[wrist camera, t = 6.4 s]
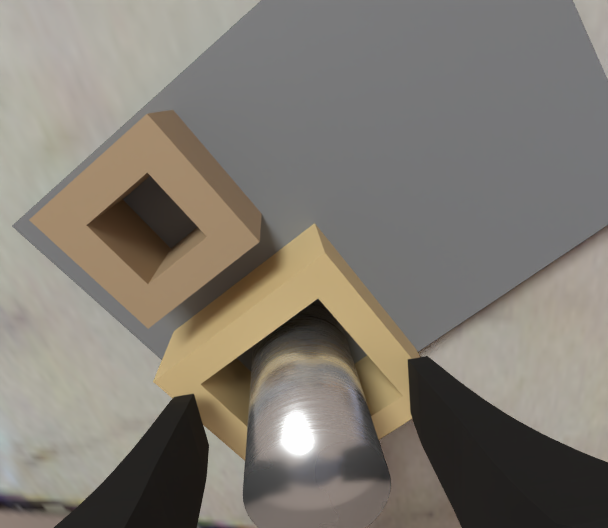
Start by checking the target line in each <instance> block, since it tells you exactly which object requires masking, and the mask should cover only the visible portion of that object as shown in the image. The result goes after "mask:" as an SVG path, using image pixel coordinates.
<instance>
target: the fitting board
mask: <svg viewBox="0 0 608 528" xmlns="http://www.w3.org/2000/svg"><path fill="white" fill-rule="evenodd" d="M607 225H608V80H607V77H606V75H605V73H604V71H603V68H602V66H601V64H600V61H599V59H598V57H597V55H596V52H595V50H594V48H593V45H592V43H591V41H590V39H589V36H588V34H587V32H586V30H585V27H584V25H583V23H582V20H581V18H580V16H579V14H578V11H577V9H576V7H575V5H574V2H573V0H261V1H260V2H259V3H258V4H257V5H256V6H255V7H253V8H252V9H251V10H250V11H249V12H248V13H247V14H246V15H245V16H243V17H242V18H241V19H240V20H239V21H238V22H237V23H236V24H235V25H234V26H232V27H231V28H230V29H229V30H228V31H227V32H226V33H225V34H224V35H222V36H221V37H220V38H219V39H218V40H217V41H216V42H215V43H214V44H213V45H211V46H210V47H209V48H208V49H207V50H206V51H205V52H204V53H203V54H201V55H200V56H199V57H198V58H197V59H196V60H195V61H194V62H193V63H192V64H190V65H189V66H188V67H187V68H186V69H185V70H184V71H183V72H182V73H180V74H179V75H178V76H177V77H176V78H175V79H174V80H173V81H172V82H171V83H169V84H168V85H167V86H166V87H165V88H164V89H163V90H162V91H161V92H159V93H158V94H157V95H156V96H155V97H154V98H153V99H152V100H151V101H150V102H148V103H147V104H146V105H145V106H144V107H143V108H142V109H141V110H140V111H138V112H137V113H136V114H135V115H134V116H133V117H132V118H131V119H130V120H129V121H127V122H126V123H125V124H124V125H123V126H122V127H121V128H120V129H119V130H117V131H116V132H115V133H114V134H113V135H112V136H111V137H110V138H109V139H108V140H106V141H105V142H104V143H103V144H102V145H101V146H100V147H99V148H98V149H96V150H95V151H94V152H93V153H92V154H91V155H90V156H89V157H88V158H87V159H85V160H84V161H83V162H82V163H81V164H80V165H79V166H78V167H77V168H75V169H74V170H73V171H72V172H71V173H70V174H69V175H68V176H67V177H66V178H64V179H63V180H62V181H61V182H60V183H59V184H58V185H57V186H56V187H54V188H53V189H52V190H51V191H50V192H49V193H48V194H47V195H46V196H45V197H43V198H42V199H41V200H40V201H39V202H38V203H37V204H36V205H35V206H33V207H32V208H31V209H30V210H29V211H28V212H27V213H26V214H25V215H24V216H22V217H21V218H20V219H19V220H18V221H17V222H16V223H15V224H14V225H12V227H13V228H15V229H16V230H17V231H18V232H19V233H20V234H21V235H22V236H24V237H25V238H26V239H27V240H28V241H29V242H30V243H31V244H32V245H34V246H35V247H36V248H37V249H38V250H39V251H40V252H41V253H43V254H44V255H45V256H46V257H47V258H48V259H49V260H50V261H52V262H53V263H54V264H55V265H56V266H57V267H58V268H59V269H60V270H62V271H63V272H64V273H65V274H66V275H67V276H68V277H69V278H71V279H72V280H73V281H74V282H75V283H76V284H77V285H78V286H80V287H81V288H82V289H83V290H84V291H85V292H86V293H87V294H88V295H90V296H91V297H92V298H93V299H94V300H95V301H96V302H97V303H99V304H100V305H101V306H102V307H103V308H104V309H105V310H106V311H108V312H109V313H110V314H111V315H112V316H113V317H114V318H115V319H116V320H118V321H119V322H120V323H121V324H122V325H123V326H124V327H125V328H127V329H128V330H129V331H130V332H131V333H132V334H133V335H134V336H136V337H137V338H138V339H139V340H140V341H141V342H142V343H143V344H144V345H146V346H147V347H148V348H149V349H150V350H151V351H152V352H153V353H155V354H156V355H157V356H158V357H159V358H160V359H161V360H162V361H161V364H160V366H159V369H158V371H157V374H156V376H155V379H154V381H153V382H154V383H155V384H157V385H158V386H159V387H160V388H161V389H162V390H163V391H165V392H166V393H167V394H168V395H169V396H170V397H172V398H174V397H176V396H182V395H188V394H194V395H195V399H196V402H197V406H198V409H199V413H200V416H201V420H202V423H203V425H204V426H205V427H206V428H208V429H209V430H210V431H211V432H212V433H213V434H215V435H216V436H217V437H218V438H219V439H220V440H221V441H223V442H224V443H225V444H226V445H227V446H228V447H230V448H231V449H232V450H233V451H234V452H235V453H237V454H238V455H239V456H240V457H241V458H242V459H244V460H245V456H246V441H247V426H248V412H249V397H250V382H251V367H252V353H253V345H255V344H256V343H258V342H259V341H260V340H262V339H263V338H264V337H266V336H267V335H269V334H270V333H271V332H273V331H274V330H275V329H277V328H278V327H280V326H281V325H282V324H284V323H285V322H286V321H288V320H289V319H291V318H292V317H293V316H295V315H296V314H297V313H299V312H300V311H301V310H303V309H304V308H306V307H307V306H308V305H310V304H311V303H312V302H314V301H315V300H317V299H318V300H320V301H321V302H322V303H323V304H324V306H325V307H326V308H327V309H328V310H329V311H330V313H331V314H332V315H333V316H334V317H335V318H336V319H337V321H338V322H339V323H340V324H341V325H342V328H343V331H344V334H345V337H346V340H347V343H348V346H349V349H350V352H351V356H352V359H353V362H354V365H355V368H356V371H357V374H358V377H359V380H360V383H361V387H362V390H363V393H364V396H365V399H366V402H367V405H368V408H369V411H370V415H371V418H372V421H373V424H374V427H375V430H376V433H377V436H378V439H381V438H382V437H384V436H386V435H387V434H389V433H390V432H392V431H393V430H395V429H397V428H398V427H400V426H401V425H403V424H404V423H406V422H407V421H409V420H411V419H412V416H411V413H410V395H409V377H408V359H413V358H419V357H420V355H419V353H418V351H420V350H421V349H423V348H424V347H426V346H427V345H429V344H430V343H432V342H433V341H435V340H436V339H438V338H439V337H441V336H442V335H444V334H445V333H447V332H448V331H450V330H451V329H453V328H454V327H456V326H457V325H459V324H460V323H462V322H463V321H465V320H466V319H468V318H469V317H471V316H472V315H474V314H475V313H477V312H478V311H480V310H481V309H483V308H484V307H486V306H487V305H489V304H490V303H492V302H493V301H495V300H496V299H498V298H499V297H501V296H502V295H504V294H505V293H507V292H508V291H510V290H511V289H513V288H514V287H516V286H517V285H519V284H520V283H522V282H523V281H525V280H526V279H528V278H529V277H531V276H532V275H534V274H535V273H537V272H538V271H540V270H541V269H543V268H544V267H546V266H547V265H549V264H550V263H551V262H553V261H554V260H556V259H557V258H559V257H560V256H562V255H563V254H565V253H566V252H568V251H569V250H571V249H572V248H574V247H575V246H577V245H578V244H580V243H581V242H583V241H584V240H586V239H587V238H589V237H590V236H592V235H593V234H595V233H596V232H598V231H599V230H601V229H602V228H604V227H605V226H607Z"/></svg>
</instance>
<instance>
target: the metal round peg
mask: <svg viewBox="0 0 608 528" xmlns="http://www.w3.org/2000/svg"><path fill="white" fill-rule="evenodd" d="M390 488H391V480H390V474H389V471H388V467H387V464H386V461H385V458H384V455H383V452H382V449H381V446H380V443H379V439H378V436H377V433H376V430H375V427H374V424H373V421H372V418H371V415H370V411H369V408H368V405H367V402H366V399H365V396H364V393H363V390H362V387H361V383H360V380H359V377H358V374H357V371H356V368H355V365H354V362H353V359H352V356H351V352H350V349H349V346H348V343H347V340H346V337H345V334H344V331H343V328H342V325H341V324H340V323H339V322H338V321H337V319H336V318H335V317H334V316H333V315H332V314H331V313H330V311H329V310H328V309H327V308H326V307H325V306H324V304H323V303H322V302H321V301H320V300H318V299H317V300H315V301H314V302H312V303H311V304H310V305H308V306H307V307H306V308H304V309H303V310H301V311H300V312H299V313H297V314H296V315H295V316H293V317H292V318H291V319H289V320H288V321H286V322H285V323H284V324H282V325H281V326H280V327H278V328H277V329H275V330H274V331H273V332H271V333H270V334H269V335H267V336H266V337H264V338H263V339H262V340H260V341H259V342H258V343H256V344H255V345H253V353H252V367H251V382H250V397H249V412H248V426H247V441H246V456H245V470H244V485H243V502H244V506H245V509H246V511H247V514H248V516H249V517H250V519H251V520H252V521H253V523H254V524H255V525H256V526H257V527H258V528H366V527H367V526H368V525H370V524H371V523H372V522H373V521H374V520H375V519H376V518H377V517H378V516H379V514H380V513H381V512H382V510H383V509H384V507H385V505H386V503H387V501H388V498H389V494H390Z"/></svg>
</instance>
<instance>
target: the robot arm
mask: <svg viewBox="0 0 608 528" xmlns="http://www.w3.org/2000/svg"><path fill="white" fill-rule="evenodd" d="M408 377H409V395H410V413H411V416H412V418H413V421H414V424H415V427H416V430H417V433H418V436H419V438H420V441H421V444H422V446H423V448H424V450H425V452H426V454H427V456H428V458H429V460H430V462H431V464H432V467H433V469H434V471H435V473H436V475H437V477H438V479H439V481H440V483H441V485H442V487H443V489H444V491H445V493H446V495H447V497H448V499H449V501H450V503H451V505H452V507H453V509H454V511H455V513H456V516H457V518H458V520H459V522H460V525H461V527H462V528H608V462H605V461H603V460H600V459H597V458H595V457H592V456H590V455H587V454H585V453H583V452H580V451H578V450H575V449H573V448H571V447H569V446H567V445H565V444H562V443H560V442H558V441H556V440H554V439H552V438H549V437H547V436H545V435H543V434H541V433H539V432H538V431H536V430H534V429H532V428H530V427H528V426H527V425H525V424H523V423H521V422H519V421H517V420H516V419H514V418H512V417H511V416H509V415H507V414H506V413H504V412H502V411H501V410H499V409H498V408H496V407H495V406H493V405H492V404H490V403H488V402H487V401H485V400H484V399H483V398H481V397H480V396H478V395H477V394H476V393H474V392H473V391H471V390H470V389H469V388H467V387H466V386H465V385H463V384H462V383H461V382H459V381H458V380H457V379H455V378H454V377H453V376H452V375H450V374H449V373H448V372H447V371H445V370H444V369H443V368H442V367H440V366H439V365H438V364H437V363H435V362H434V361H433V360H431V359H430V358H429V357H428V356H425V357H419V358H413V359H408ZM208 451H209V444H208V440H207V437H206V434H205V430H204V427H203V423H202V420H201V416H200V413H199V409H198V406H197V402H196V399H195V395H194V394H188V395H182V396H176V397H174V398H173V399H172V400H171V401H170V403H169V404H168V405H167V406H166V408H165V409H164V410H163V411H162V413H161V414H160V415H159V417H158V418H157V419H156V420H155V422H154V423H153V424H152V426H151V427H150V428H149V429H148V431H147V432H146V433H145V434H144V436H143V437H142V438H141V439H140V441H139V442H138V443H137V444H136V446H135V447H134V448H133V449H132V450H131V452H130V453H129V454H128V455H127V456H126V457H125V458H124V460H123V461H122V462H121V463H120V464H119V465H118V466H117V467H116V469H115V470H114V471H113V472H112V473H111V474H110V475H109V476H108V477H107V478H106V480H105V481H104V482H103V483H102V484H101V485H100V486H99V487H98V488H97V489H96V490H95V491H94V492H93V493H92V494H91V495H90V496H88V497H87V498H86V499H85V500H84V501H83V502H82V503H81V504H80V505H79V506H78V507H77V508H76V509H75V510H74V511H72V512H71V513H70V514H69V515H68V516H67V517H65V518H64V519H63V520H62V521H61V522H60V523H58V524H57V525H56V526H55V527H54V528H197V523H198V518H199V513H200V508H201V503H202V498H203V493H204V488H205V483H206V477H207V465H208Z"/></svg>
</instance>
